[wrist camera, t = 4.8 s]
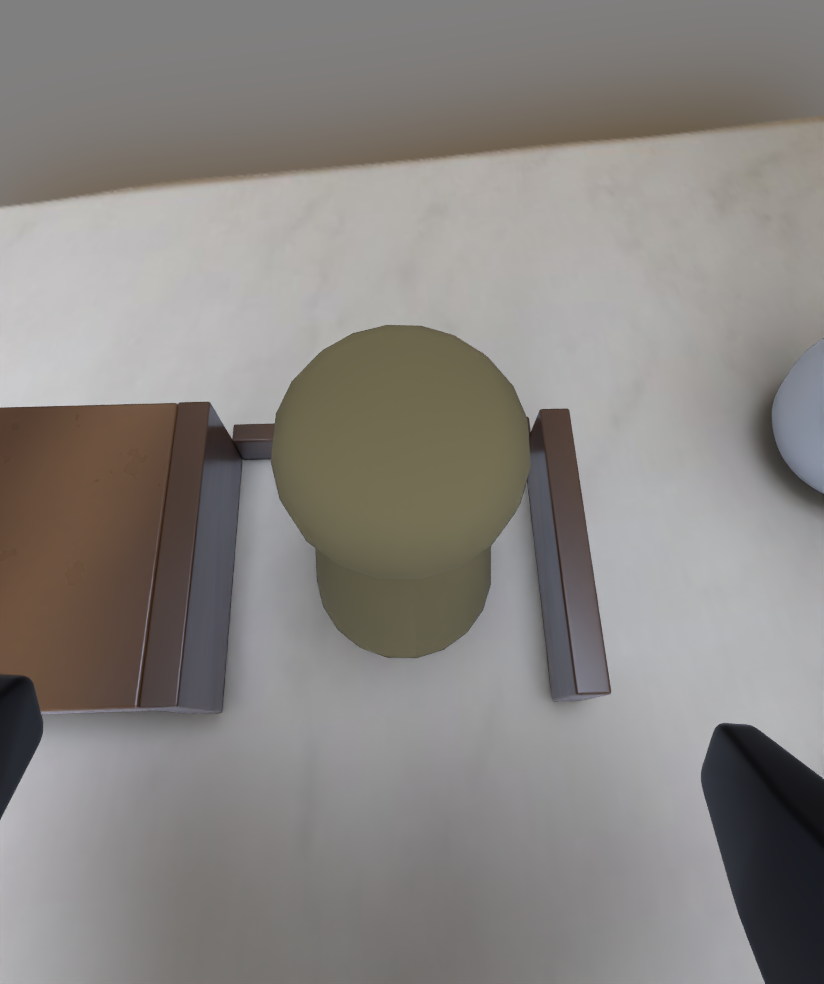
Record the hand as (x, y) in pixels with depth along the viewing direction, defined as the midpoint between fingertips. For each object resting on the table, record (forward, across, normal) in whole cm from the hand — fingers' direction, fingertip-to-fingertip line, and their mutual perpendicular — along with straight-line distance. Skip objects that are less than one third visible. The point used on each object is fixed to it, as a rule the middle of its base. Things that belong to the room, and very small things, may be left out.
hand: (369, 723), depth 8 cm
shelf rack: (+12, +6, +5) cm, 14 cm away
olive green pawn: (+12, 0, +5) cm, 13 cm away
